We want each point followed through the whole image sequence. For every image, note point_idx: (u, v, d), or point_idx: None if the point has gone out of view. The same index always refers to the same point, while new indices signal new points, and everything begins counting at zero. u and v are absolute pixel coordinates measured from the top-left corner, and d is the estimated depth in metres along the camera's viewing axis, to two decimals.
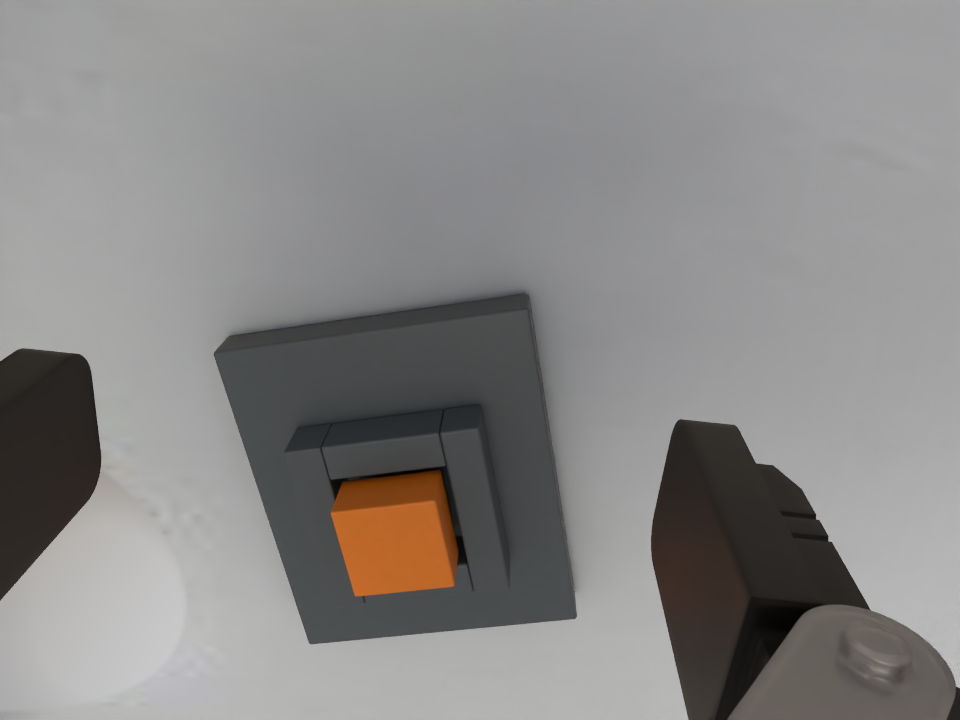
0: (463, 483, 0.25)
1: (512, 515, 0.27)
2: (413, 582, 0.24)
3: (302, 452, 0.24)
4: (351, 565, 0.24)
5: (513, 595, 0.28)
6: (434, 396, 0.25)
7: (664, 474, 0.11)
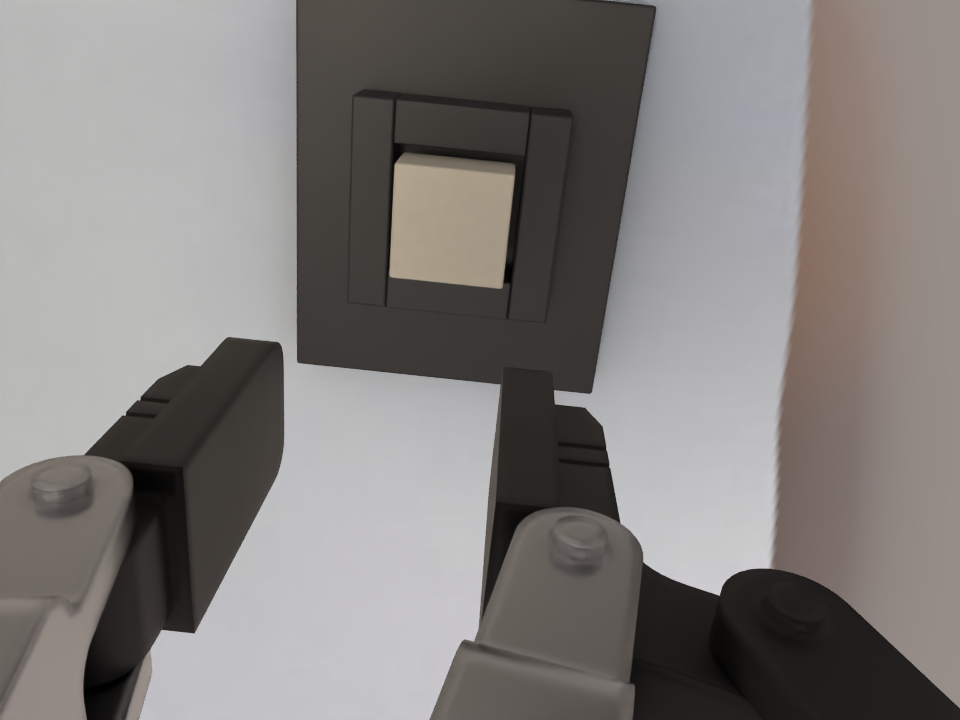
0: None
1: None
2: None
3: None
4: None
5: None
6: None
7: None
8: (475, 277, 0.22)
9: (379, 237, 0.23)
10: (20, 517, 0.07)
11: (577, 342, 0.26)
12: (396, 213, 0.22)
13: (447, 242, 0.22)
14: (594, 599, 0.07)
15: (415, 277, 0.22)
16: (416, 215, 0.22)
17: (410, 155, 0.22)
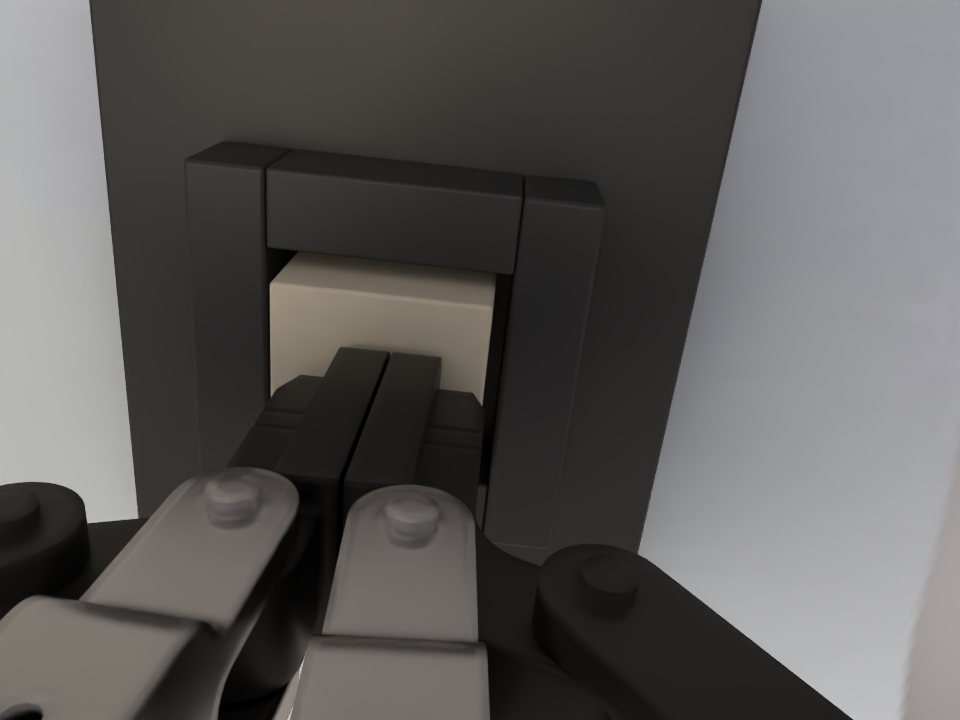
0: None
1: None
2: None
3: None
4: None
5: None
6: None
7: None
8: None
9: (249, 408, 0.13)
10: (190, 524, 0.07)
11: None
12: (276, 368, 0.12)
13: None
14: (434, 569, 0.07)
15: None
16: (313, 373, 0.12)
17: (308, 257, 0.12)
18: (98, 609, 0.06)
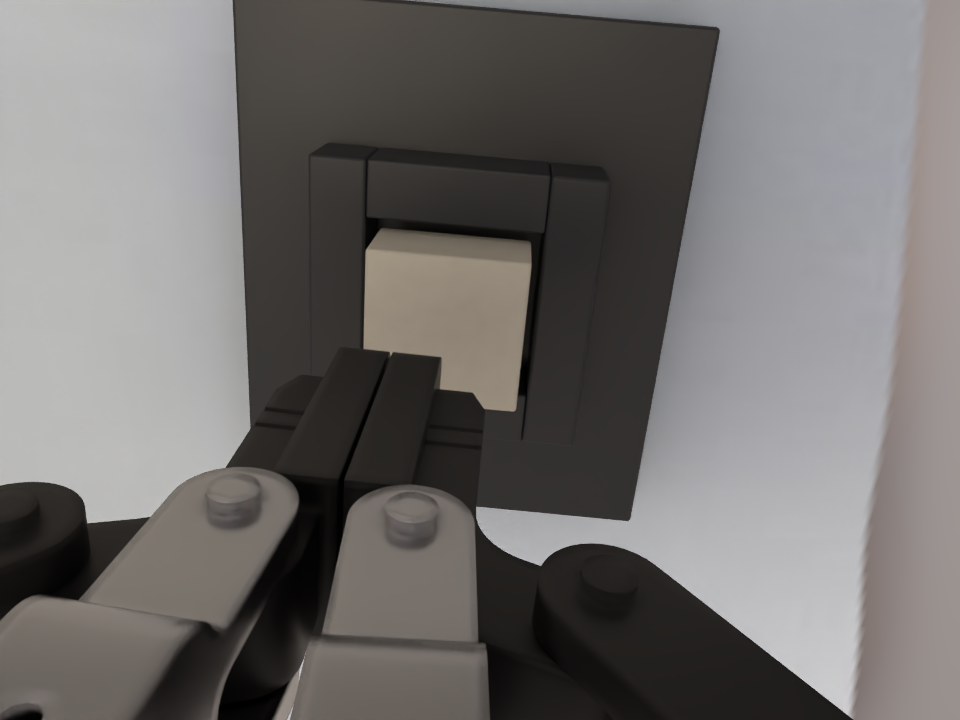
0: None
1: None
2: None
3: None
4: None
5: None
6: None
7: None
8: (479, 398, 0.16)
9: (349, 339, 0.17)
10: (190, 525, 0.07)
11: (612, 459, 0.20)
12: (369, 315, 0.16)
13: (440, 353, 0.16)
14: (434, 569, 0.07)
15: None
16: (397, 318, 0.16)
17: (389, 233, 0.16)
18: (98, 609, 0.06)
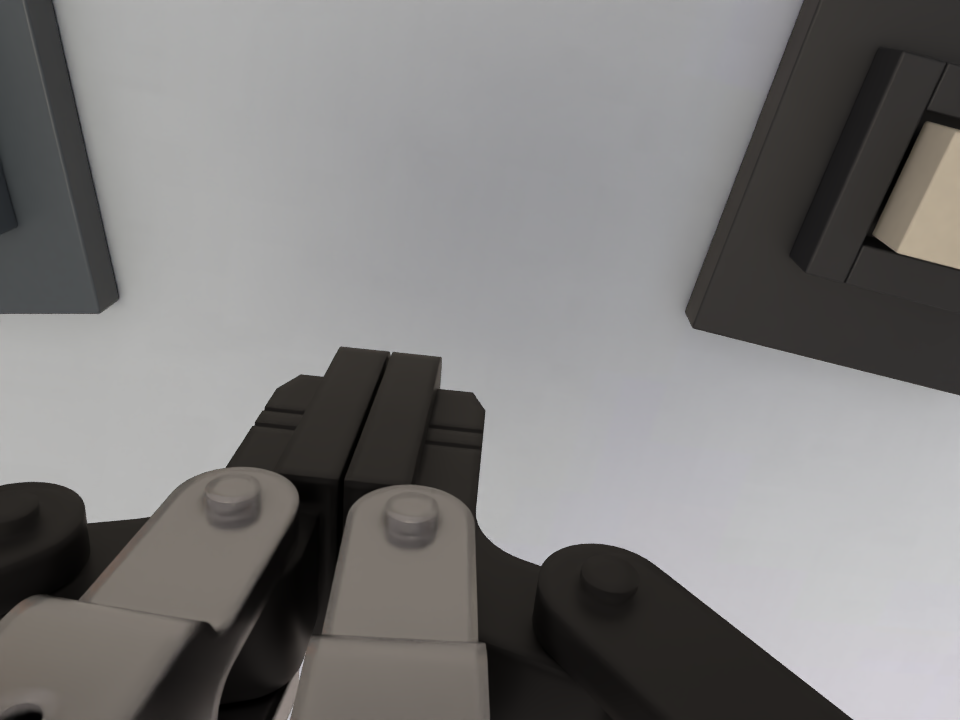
0: None
1: (15, 170, 0.24)
2: None
3: None
4: None
5: (27, 274, 0.26)
6: None
7: None
8: None
9: (868, 208, 0.22)
10: (190, 524, 0.07)
11: None
12: (934, 185, 0.20)
13: None
14: (434, 569, 0.07)
15: (924, 257, 0.21)
16: (955, 191, 0.20)
17: (941, 125, 0.21)
18: (98, 609, 0.06)
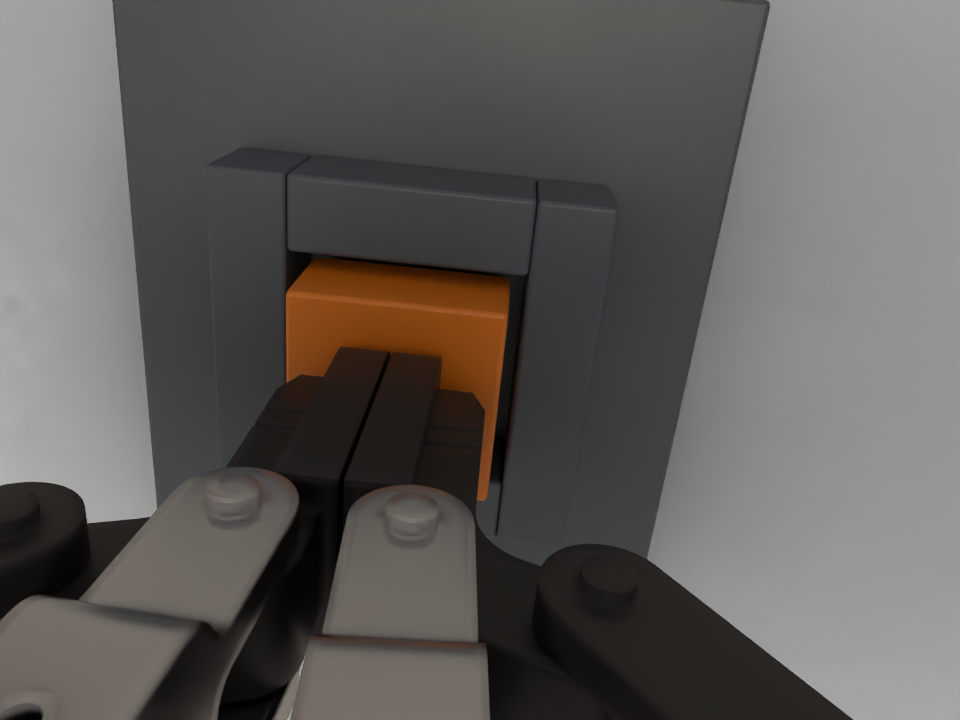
0: (549, 320, 0.12)
1: (591, 419, 0.15)
2: None
3: (245, 175, 0.12)
4: None
5: (541, 561, 0.16)
6: (526, 147, 0.13)
7: None
8: None
9: None
10: (190, 524, 0.07)
11: None
12: None
13: None
14: (434, 569, 0.07)
15: None
16: None
17: None
18: (98, 609, 0.06)
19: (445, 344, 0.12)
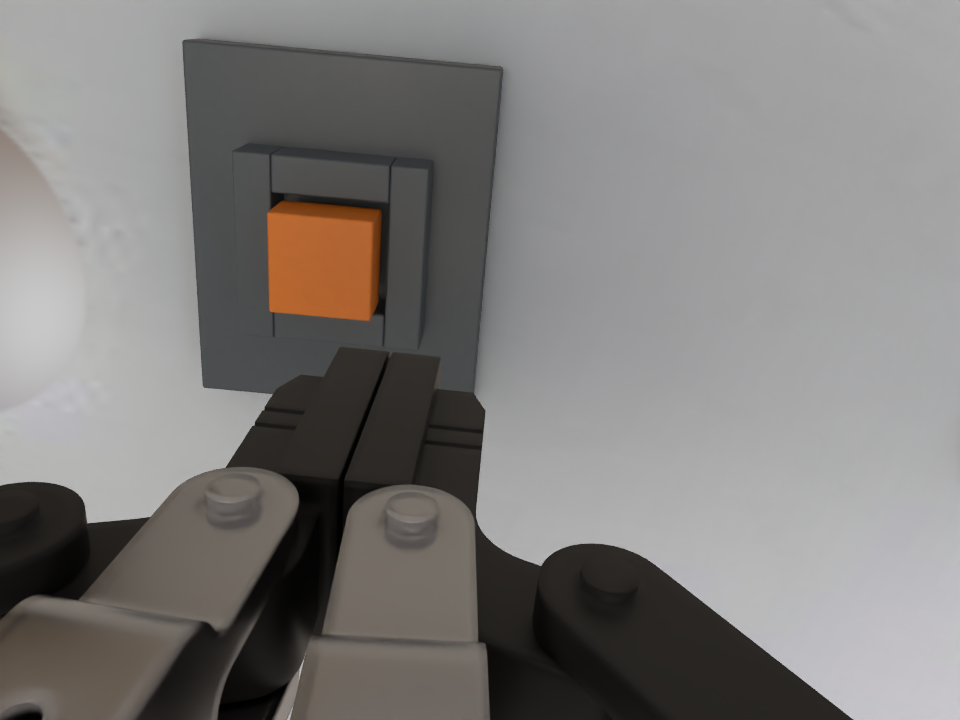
0: (401, 225, 0.25)
1: (436, 287, 0.28)
2: (331, 307, 0.25)
3: (250, 155, 0.24)
4: (274, 275, 0.24)
5: None
6: (391, 141, 0.26)
7: None
8: None
9: None
10: (190, 524, 0.07)
11: None
12: None
13: None
14: (434, 569, 0.07)
15: None
16: None
17: None
18: (98, 609, 0.06)
19: (344, 237, 0.24)
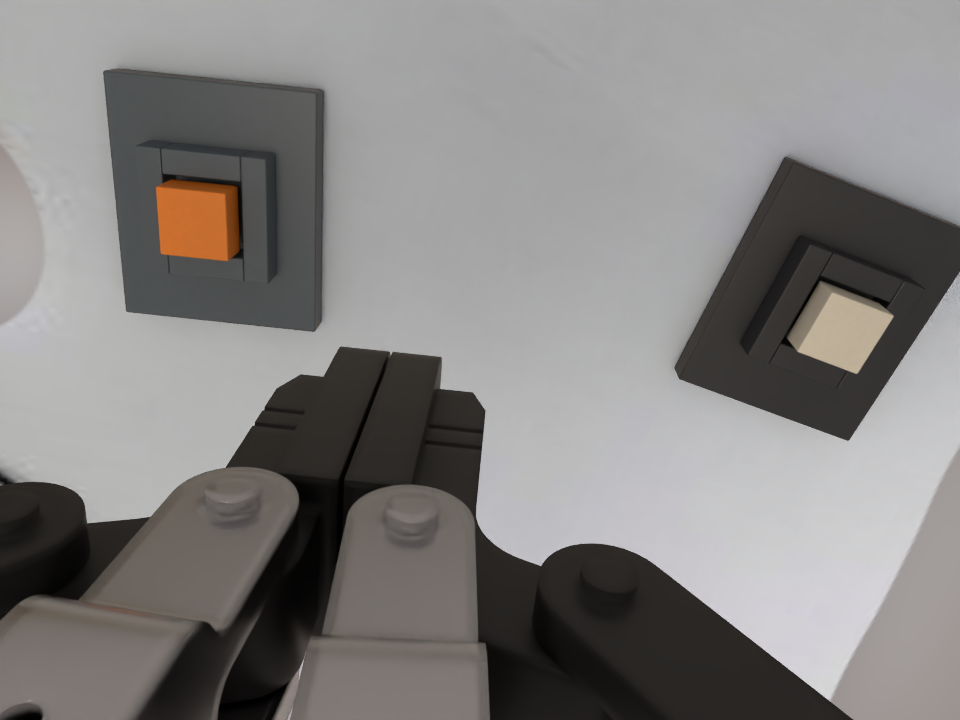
0: (249, 197, 0.37)
1: (284, 241, 0.40)
2: (201, 251, 0.37)
3: (147, 149, 0.37)
4: (162, 229, 0.37)
5: (274, 303, 0.41)
6: (246, 140, 0.38)
7: None
8: (845, 364, 0.38)
9: (785, 323, 0.38)
10: (190, 524, 0.07)
11: (855, 409, 0.42)
12: (819, 318, 0.37)
13: (839, 341, 0.37)
14: (434, 569, 0.07)
15: (812, 355, 0.38)
16: (830, 322, 0.37)
17: (827, 285, 0.38)
18: (99, 608, 0.06)
19: (207, 204, 0.36)
